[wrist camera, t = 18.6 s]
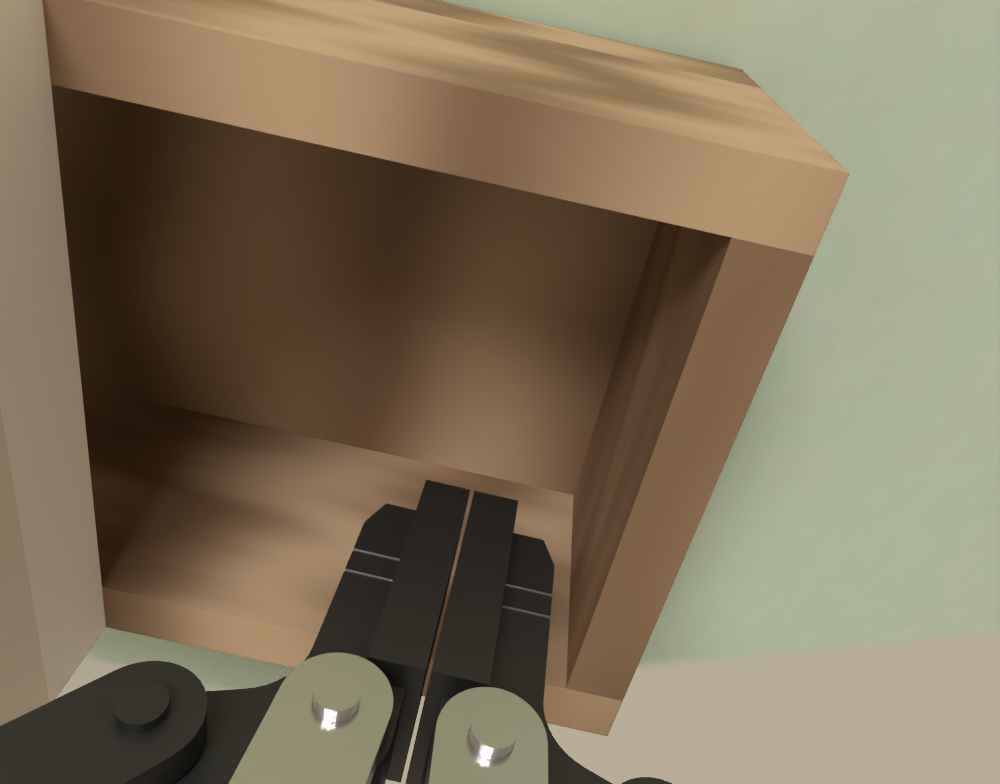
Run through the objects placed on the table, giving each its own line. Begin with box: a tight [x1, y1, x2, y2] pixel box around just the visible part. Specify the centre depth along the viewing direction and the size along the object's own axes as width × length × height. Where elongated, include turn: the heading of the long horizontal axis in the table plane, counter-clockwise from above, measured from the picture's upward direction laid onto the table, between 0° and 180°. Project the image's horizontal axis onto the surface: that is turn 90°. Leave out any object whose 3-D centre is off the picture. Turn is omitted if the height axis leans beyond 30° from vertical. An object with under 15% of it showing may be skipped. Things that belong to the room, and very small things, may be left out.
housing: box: [43, 0, 850, 736], centre depth 17 cm, size 22×12×9 cm, turn 79°
